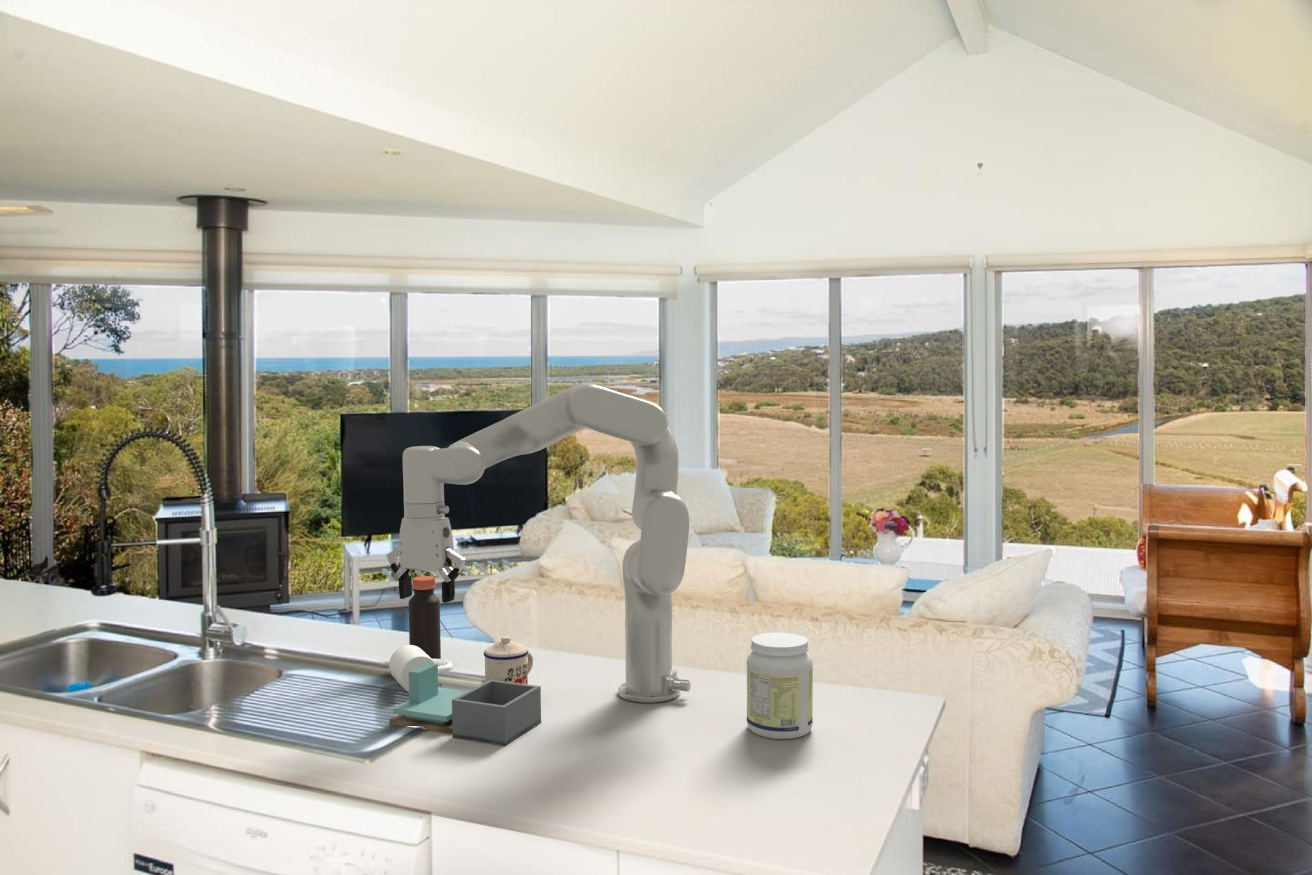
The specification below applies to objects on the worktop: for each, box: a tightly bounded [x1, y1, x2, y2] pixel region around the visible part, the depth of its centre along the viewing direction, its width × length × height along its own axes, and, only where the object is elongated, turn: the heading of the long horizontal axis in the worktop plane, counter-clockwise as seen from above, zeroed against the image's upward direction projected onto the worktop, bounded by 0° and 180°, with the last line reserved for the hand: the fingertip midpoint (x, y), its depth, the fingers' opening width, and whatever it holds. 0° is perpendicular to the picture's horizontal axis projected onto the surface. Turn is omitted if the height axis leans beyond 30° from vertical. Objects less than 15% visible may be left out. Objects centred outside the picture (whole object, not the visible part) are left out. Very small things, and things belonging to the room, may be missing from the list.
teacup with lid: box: [483, 635, 534, 685], centre depth 217 cm, size 12×9×12 cm
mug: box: [388, 644, 453, 693], centre depth 220 cm, size 12×10×8 cm
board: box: [389, 714, 453, 735], centre depth 201 cm, size 14×14×1 cm
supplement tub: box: [746, 632, 814, 740], centre depth 193 cm, size 12×12×17 cm
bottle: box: [408, 575, 442, 659], centre depth 234 cm, size 7×7×20 cm
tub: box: [451, 680, 542, 747], centre depth 194 cm, size 11×13×7 cm
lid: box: [392, 663, 469, 724], centre depth 201 cm, size 12×14×8 cm
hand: (426, 599), depth 202 cm, fingers open, 9 cm apart
